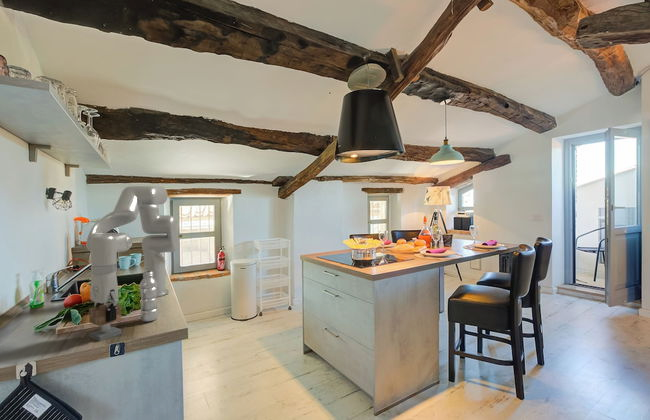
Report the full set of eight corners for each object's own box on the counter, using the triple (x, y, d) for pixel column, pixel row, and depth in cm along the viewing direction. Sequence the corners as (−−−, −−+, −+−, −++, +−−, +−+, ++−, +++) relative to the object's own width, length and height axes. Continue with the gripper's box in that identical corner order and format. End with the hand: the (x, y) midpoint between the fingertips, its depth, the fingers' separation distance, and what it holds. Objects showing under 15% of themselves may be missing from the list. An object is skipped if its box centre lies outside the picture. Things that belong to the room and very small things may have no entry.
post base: (89, 337, 107) (89, 313, 107) (111, 330, 114) (111, 307, 113) (99, 341, 104) (99, 316, 104) (121, 333, 110) (121, 310, 110)
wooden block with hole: (89, 322, 107) (89, 308, 107) (111, 315, 113) (110, 302, 113) (99, 326, 104) (99, 311, 104) (121, 319, 110) (121, 305, 110)
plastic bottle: (162, 317, 126) (161, 269, 125) (151, 324, 119) (150, 273, 118) (147, 317, 126) (146, 269, 126) (136, 323, 119) (134, 273, 119)
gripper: (80, 269, 109) (81, 318, 110) (105, 274, 101) (106, 327, 101) (103, 265, 116) (105, 311, 116) (128, 269, 107) (130, 319, 108)
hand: (105, 318), depth 109 cm, fingers closed on wooden block with hole, 6 cm apart
